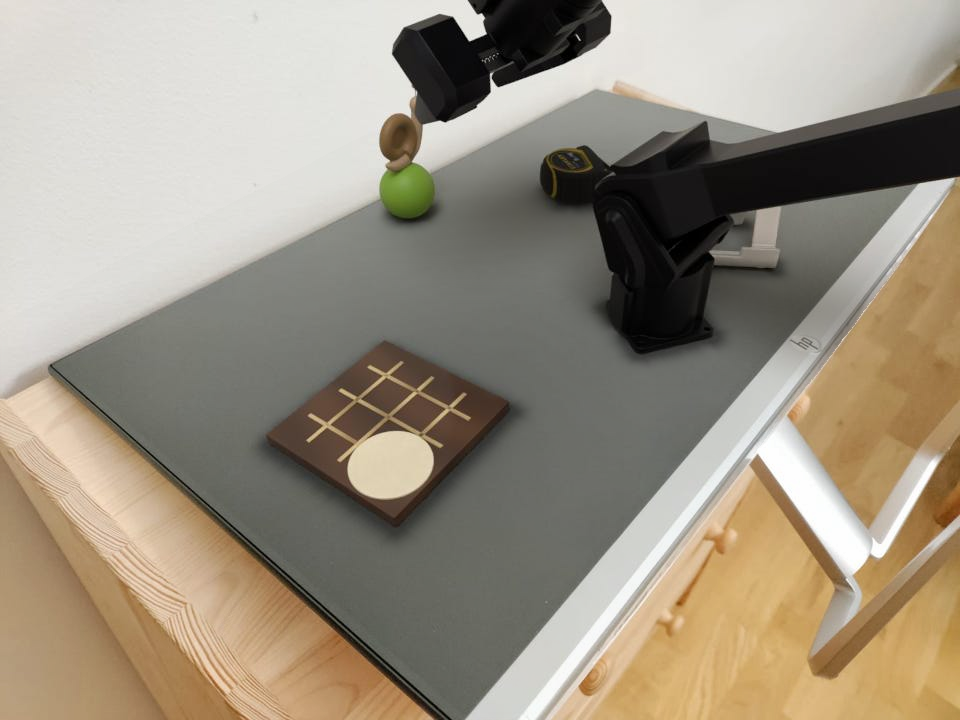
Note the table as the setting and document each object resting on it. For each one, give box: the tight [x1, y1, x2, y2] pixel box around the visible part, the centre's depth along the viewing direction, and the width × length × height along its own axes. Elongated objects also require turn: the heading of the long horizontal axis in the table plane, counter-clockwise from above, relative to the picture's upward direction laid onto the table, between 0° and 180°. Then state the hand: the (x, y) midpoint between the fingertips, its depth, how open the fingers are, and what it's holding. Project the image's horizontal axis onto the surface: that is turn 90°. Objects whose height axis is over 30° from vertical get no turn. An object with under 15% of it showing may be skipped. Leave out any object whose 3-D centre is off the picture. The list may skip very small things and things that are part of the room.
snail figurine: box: [378, 84, 436, 219], centre depth 68 cm, size 5×6×12 cm
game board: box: [265, 339, 510, 527], centre depth 49 cm, size 12×12×1 cm
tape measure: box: [539, 144, 613, 204], centre depth 71 cm, size 7×7×4 cm
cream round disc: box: [348, 431, 434, 500], centre depth 46 cm, size 6×6×1 cm
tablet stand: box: [709, 206, 782, 269], centre depth 61 cm, size 9×8×8 cm
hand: (458, 99), depth 59 cm, fingers open, 9 cm apart
